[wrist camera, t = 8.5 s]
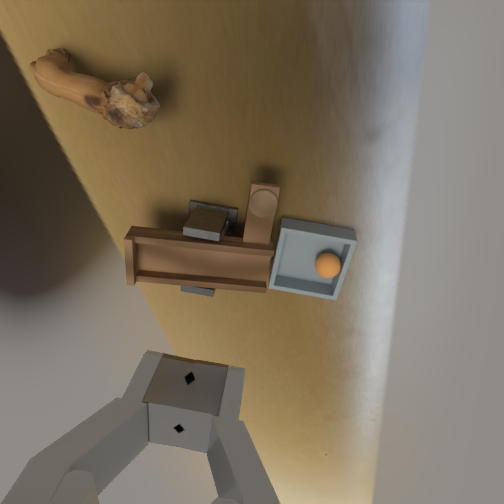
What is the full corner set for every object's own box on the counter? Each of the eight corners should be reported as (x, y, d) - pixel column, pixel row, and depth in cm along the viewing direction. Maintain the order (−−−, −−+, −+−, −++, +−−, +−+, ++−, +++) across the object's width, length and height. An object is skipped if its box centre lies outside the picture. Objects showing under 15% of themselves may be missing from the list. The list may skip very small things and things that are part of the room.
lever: (128, 165, 33) (119, 175, 31) (284, 185, 35) (287, 195, 32) (134, 269, 40) (127, 284, 37) (264, 281, 42) (265, 297, 39)
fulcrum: (190, 199, 41) (174, 223, 35) (237, 208, 41) (229, 233, 35) (187, 260, 46) (172, 290, 40) (229, 268, 46) (221, 299, 40)
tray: (282, 216, 41) (281, 227, 38) (353, 229, 41) (357, 241, 38) (269, 275, 46) (268, 288, 43) (333, 286, 45) (336, 300, 43)
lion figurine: (179, 72, 34) (147, 76, 26) (176, 125, 37) (146, 143, 29) (40, 42, 34) (-34, 37, 26) (47, 97, 37) (-18, 108, 29)
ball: (313, 252, 40) (336, 264, 39) (326, 245, 42) (348, 256, 41) (307, 274, 42) (329, 286, 40) (320, 265, 44) (341, 277, 42)
